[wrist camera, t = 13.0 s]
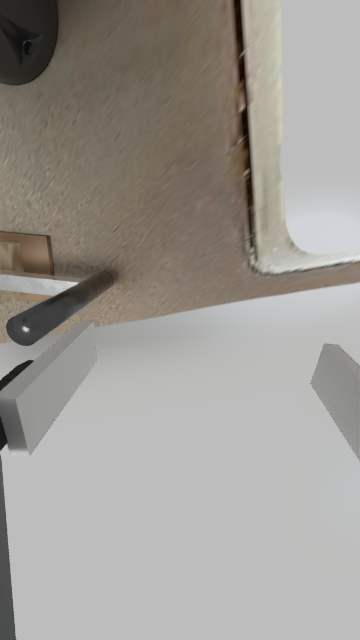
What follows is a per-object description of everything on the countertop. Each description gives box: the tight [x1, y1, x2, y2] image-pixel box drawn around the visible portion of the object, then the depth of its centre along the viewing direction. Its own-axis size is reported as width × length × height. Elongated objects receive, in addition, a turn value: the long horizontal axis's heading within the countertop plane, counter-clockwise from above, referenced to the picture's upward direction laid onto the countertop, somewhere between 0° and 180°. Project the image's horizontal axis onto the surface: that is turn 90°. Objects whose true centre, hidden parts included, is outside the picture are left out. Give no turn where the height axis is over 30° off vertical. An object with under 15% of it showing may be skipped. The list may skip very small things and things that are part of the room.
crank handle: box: [0, 270, 113, 346], centre depth 33 cm, size 3×18×21 cm, turn 85°
